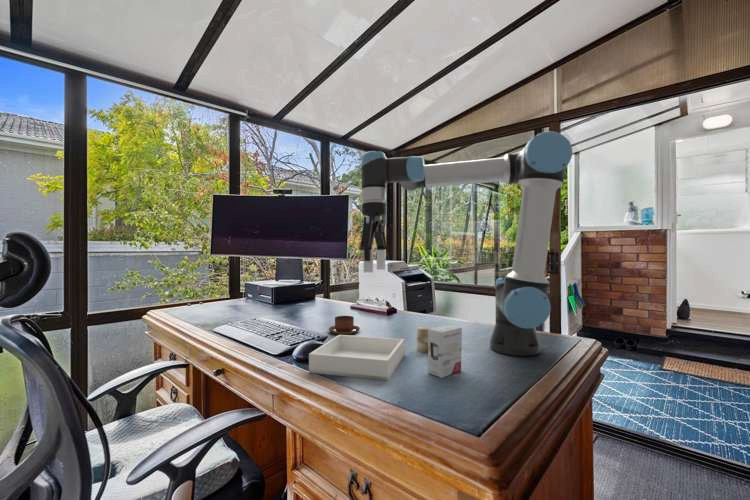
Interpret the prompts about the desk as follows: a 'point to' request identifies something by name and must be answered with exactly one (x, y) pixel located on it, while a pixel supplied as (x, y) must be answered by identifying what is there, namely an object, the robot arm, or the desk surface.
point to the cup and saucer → (344, 325)
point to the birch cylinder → (422, 339)
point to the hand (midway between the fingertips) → (375, 271)
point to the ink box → (444, 350)
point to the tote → (358, 357)
